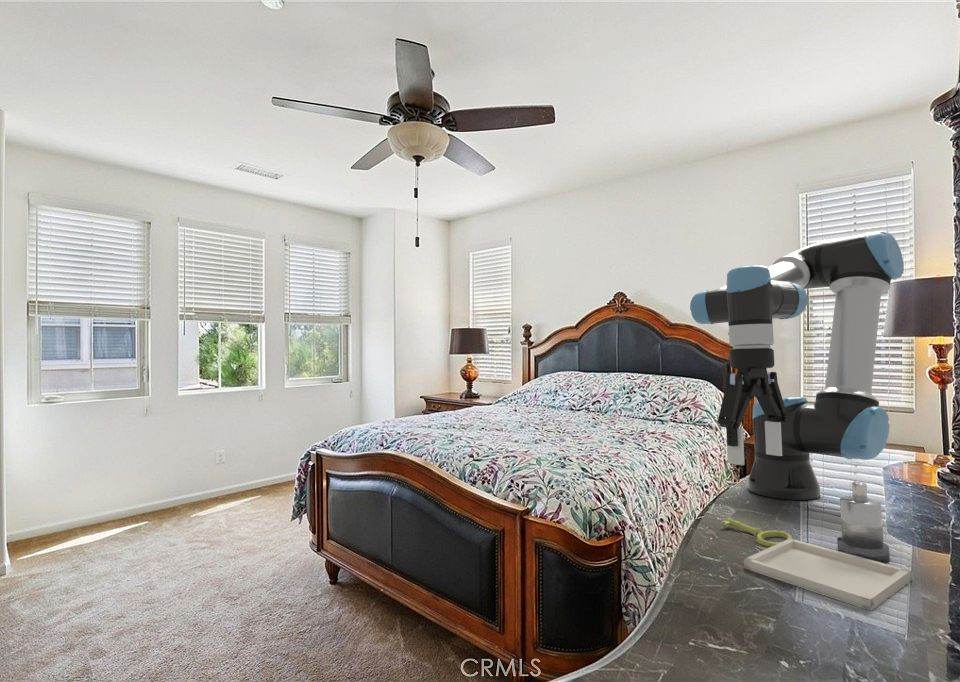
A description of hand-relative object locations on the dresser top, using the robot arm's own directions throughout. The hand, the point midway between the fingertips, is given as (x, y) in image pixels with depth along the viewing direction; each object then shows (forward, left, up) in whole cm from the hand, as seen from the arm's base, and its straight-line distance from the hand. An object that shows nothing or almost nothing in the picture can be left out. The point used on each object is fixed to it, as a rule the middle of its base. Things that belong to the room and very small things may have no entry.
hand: (755, 459), depth 95 cm
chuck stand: (-4, +15, -14) cm, 21 cm away
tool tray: (+9, +15, -14) cm, 22 cm away
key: (0, 0, -15) cm, 15 cm away
